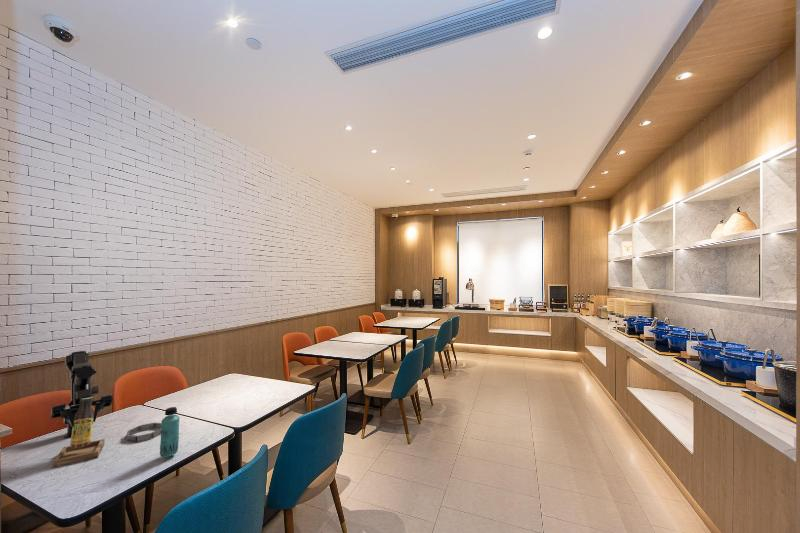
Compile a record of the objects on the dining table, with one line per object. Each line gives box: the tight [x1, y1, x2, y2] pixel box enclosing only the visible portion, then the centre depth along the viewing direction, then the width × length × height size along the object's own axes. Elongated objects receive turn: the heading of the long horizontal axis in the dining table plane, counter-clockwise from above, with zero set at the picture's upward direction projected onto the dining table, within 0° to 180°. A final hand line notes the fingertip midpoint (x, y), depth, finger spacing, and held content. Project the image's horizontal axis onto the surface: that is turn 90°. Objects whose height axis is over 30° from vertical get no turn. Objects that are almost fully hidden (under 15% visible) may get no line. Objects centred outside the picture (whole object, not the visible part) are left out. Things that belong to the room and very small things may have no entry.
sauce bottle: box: [69, 395, 95, 448], centre depth 134 cm, size 6×6×20 cm
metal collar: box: [125, 421, 162, 443], centre depth 152 cm, size 14×14×2 cm
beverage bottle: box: [159, 406, 181, 458], centre depth 133 cm, size 6×7×20 cm
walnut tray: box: [52, 438, 105, 469], centre depth 133 cm, size 13×13×2 cm
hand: (83, 424), depth 133 cm, fingers closed on sauce bottle, 6 cm apart
